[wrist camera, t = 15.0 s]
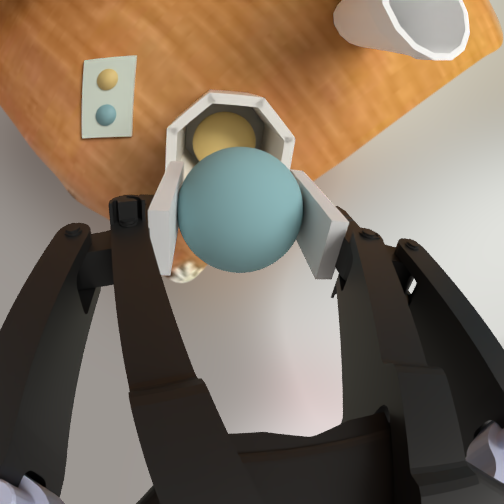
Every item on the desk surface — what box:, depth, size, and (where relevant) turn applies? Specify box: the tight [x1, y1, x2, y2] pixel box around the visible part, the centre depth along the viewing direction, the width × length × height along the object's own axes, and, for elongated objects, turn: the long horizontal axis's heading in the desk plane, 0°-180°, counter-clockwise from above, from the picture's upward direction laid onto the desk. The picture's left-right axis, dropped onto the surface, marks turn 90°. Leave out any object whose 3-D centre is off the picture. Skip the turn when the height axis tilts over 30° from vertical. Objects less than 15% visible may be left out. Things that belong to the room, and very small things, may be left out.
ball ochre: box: [193, 112, 256, 161], centre depth 27 cm, size 6×6×6 cm
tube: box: [165, 89, 295, 182], centre depth 26 cm, size 10×10×10 cm
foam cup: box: [333, 0, 470, 60], centre depth 18 cm, size 10×9×13 cm
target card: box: [82, 55, 137, 138], centre depth 25 cm, size 9×6×1 cm, turn 173°
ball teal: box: [177, 147, 303, 273], centre depth 14 cm, size 6×6×6 cm
